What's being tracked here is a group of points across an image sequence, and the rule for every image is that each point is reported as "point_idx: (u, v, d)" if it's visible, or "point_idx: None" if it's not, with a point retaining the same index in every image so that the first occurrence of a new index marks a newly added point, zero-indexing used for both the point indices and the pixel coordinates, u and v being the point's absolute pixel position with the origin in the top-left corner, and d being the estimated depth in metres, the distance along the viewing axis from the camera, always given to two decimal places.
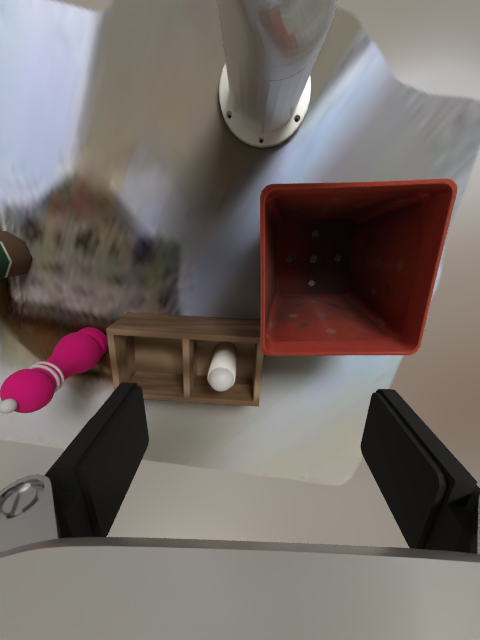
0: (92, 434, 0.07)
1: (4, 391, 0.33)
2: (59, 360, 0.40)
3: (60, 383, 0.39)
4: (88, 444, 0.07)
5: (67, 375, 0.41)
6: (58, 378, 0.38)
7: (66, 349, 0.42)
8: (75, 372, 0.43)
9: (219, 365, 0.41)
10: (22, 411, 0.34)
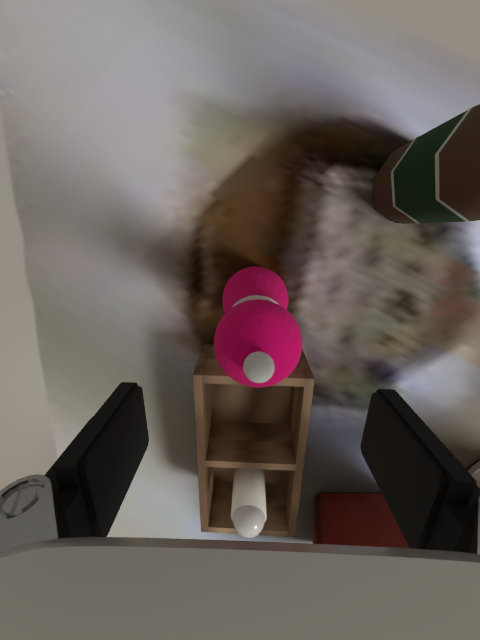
0: (92, 434, 0.07)
1: (281, 342, 0.15)
2: None
3: None
4: (89, 445, 0.07)
5: None
6: None
7: None
8: None
9: None
10: (231, 365, 0.16)
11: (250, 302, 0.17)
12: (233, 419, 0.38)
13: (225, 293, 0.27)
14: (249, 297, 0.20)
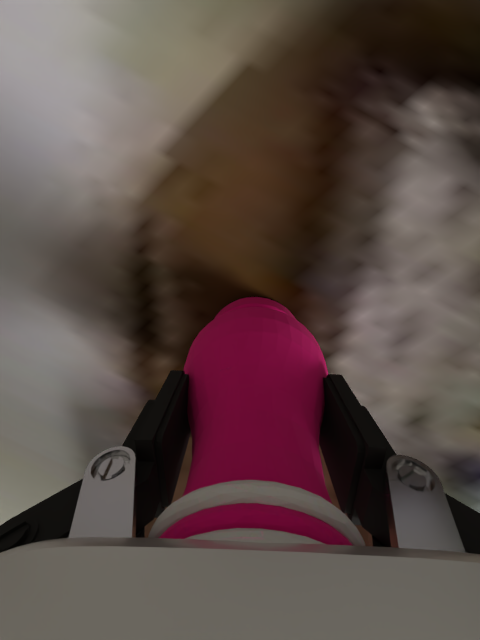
0: (160, 413, 0.08)
1: None
2: None
3: None
4: (160, 422, 0.08)
5: None
6: None
7: None
8: None
9: None
10: None
11: None
12: None
13: (186, 372, 0.12)
14: (226, 495, 0.05)
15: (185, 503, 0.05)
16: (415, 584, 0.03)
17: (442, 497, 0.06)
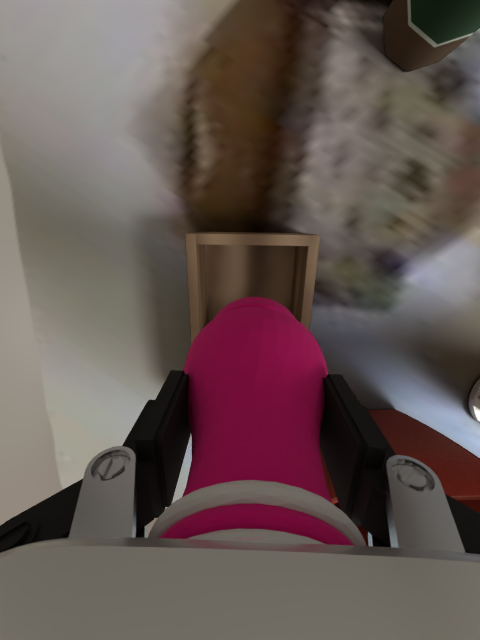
0: (160, 413, 0.08)
1: None
2: None
3: None
4: (160, 421, 0.08)
5: None
6: None
7: None
8: None
9: None
10: None
11: None
12: None
13: (185, 372, 0.12)
14: (226, 495, 0.05)
15: (185, 503, 0.05)
16: (415, 584, 0.03)
17: (442, 497, 0.06)
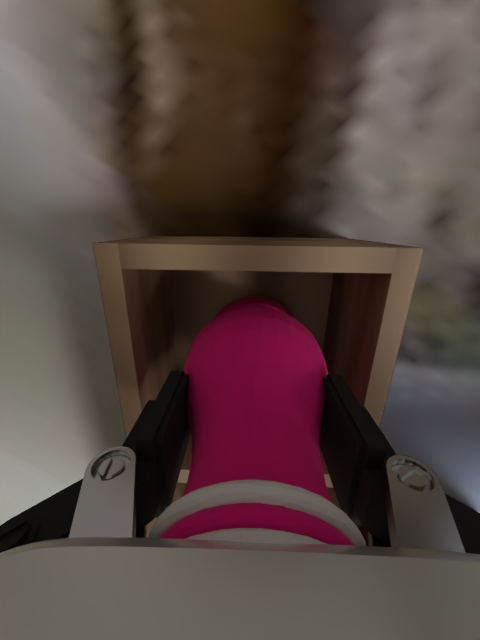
0: (160, 413, 0.08)
1: None
2: None
3: None
4: (160, 421, 0.08)
5: None
6: None
7: None
8: None
9: None
10: None
11: None
12: None
13: (185, 372, 0.12)
14: (226, 495, 0.05)
15: (185, 503, 0.05)
16: (415, 584, 0.03)
17: (442, 497, 0.06)
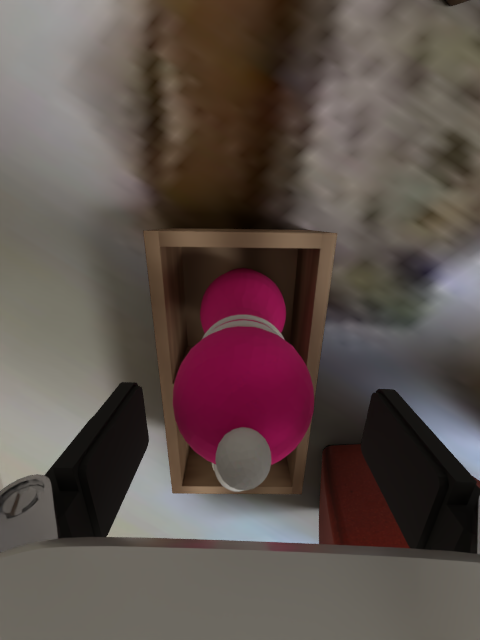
0: (92, 434, 0.07)
1: (282, 407, 0.09)
2: None
3: None
4: (89, 445, 0.07)
5: None
6: None
7: None
8: None
9: None
10: (198, 442, 0.09)
11: (229, 333, 0.10)
12: None
13: (203, 305, 0.20)
14: (232, 318, 0.14)
15: (216, 324, 0.14)
16: (415, 584, 0.03)
17: None
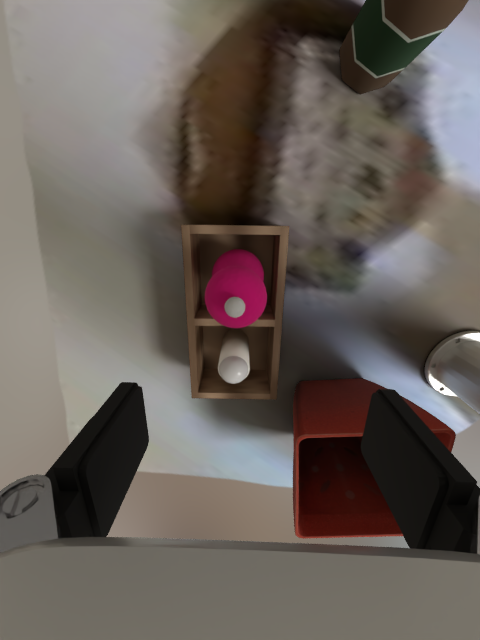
0: (92, 434, 0.07)
1: (250, 291, 0.23)
2: None
3: None
4: (89, 445, 0.07)
5: None
6: None
7: None
8: None
9: (249, 365, 0.36)
10: (217, 309, 0.23)
11: (229, 266, 0.24)
12: None
13: (214, 269, 0.34)
14: None
15: None
16: (415, 584, 0.03)
17: None
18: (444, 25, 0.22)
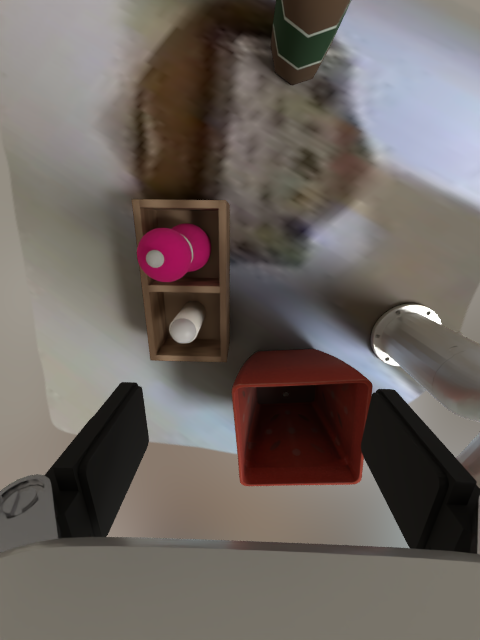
0: (92, 434, 0.07)
1: (170, 247, 0.27)
2: None
3: None
4: (89, 445, 0.07)
5: None
6: None
7: (199, 253, 0.37)
8: None
9: (197, 327, 0.40)
10: (143, 262, 0.28)
11: (157, 228, 0.29)
12: None
13: None
14: None
15: None
16: (415, 584, 0.03)
17: None
18: (333, 22, 0.26)
